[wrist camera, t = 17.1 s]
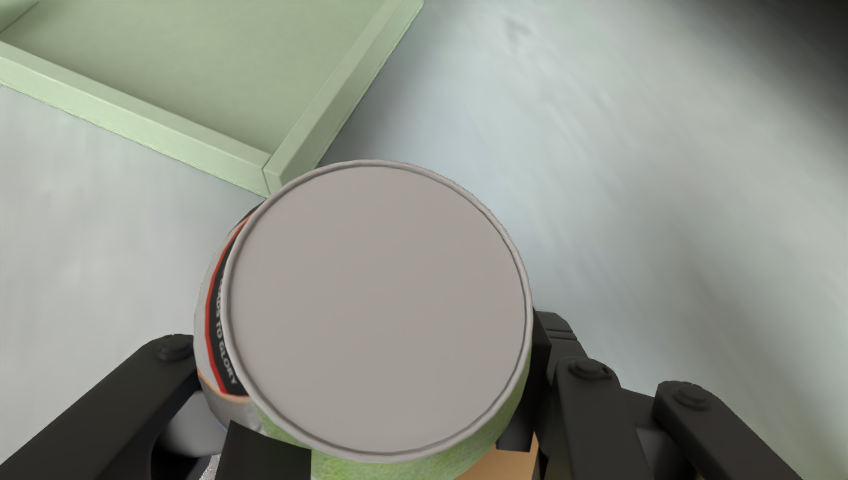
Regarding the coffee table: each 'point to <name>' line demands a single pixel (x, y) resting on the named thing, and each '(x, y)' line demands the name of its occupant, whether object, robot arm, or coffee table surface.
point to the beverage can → (368, 323)
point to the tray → (207, 73)
